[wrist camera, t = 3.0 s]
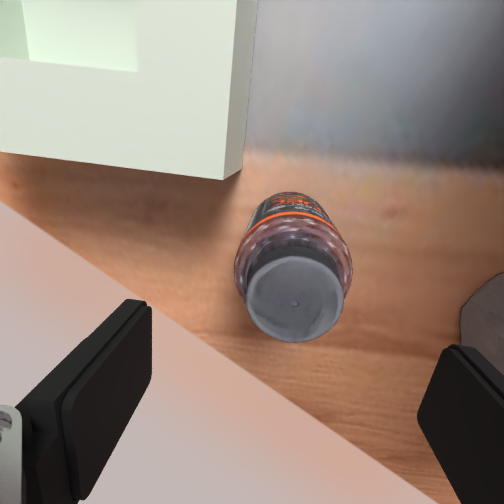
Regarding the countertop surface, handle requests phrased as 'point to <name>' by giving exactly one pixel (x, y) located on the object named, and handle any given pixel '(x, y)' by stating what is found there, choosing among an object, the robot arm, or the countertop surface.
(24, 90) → the sage block
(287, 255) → the supplement bottle
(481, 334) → the coffeepot
